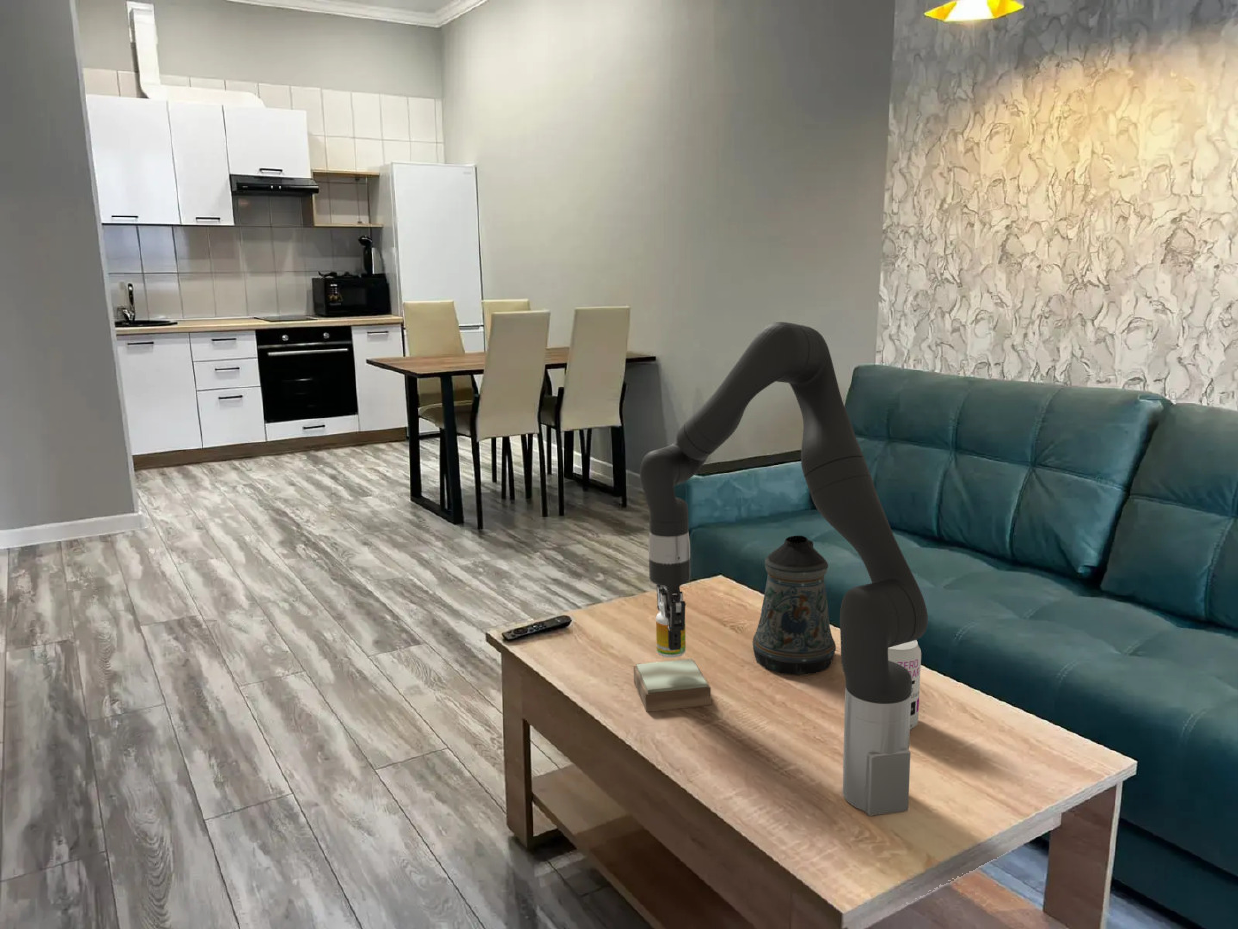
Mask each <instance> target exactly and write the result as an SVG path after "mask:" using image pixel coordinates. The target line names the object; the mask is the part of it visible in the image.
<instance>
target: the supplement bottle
mask: <svg viewBox="0 0 1238 929" xmlns="http://www.w3.org/2000/svg"><path fill="white" fill-rule="evenodd" d="M659 609H660V610H659V612H658V613H657V615H656V616H655V629H656V631H655V632H656V636H655V637H656V638H655V639H656V642H655V643H656V653H657V654H658V655H659V656H661V657H664V658H668V659H669V658H671V659H672V658H679V657H681V656H683V655H684V654H686V648H687V646H686V644H687V643H686V627H685V628H684V631H681V648H680V649H678V650H670V649H669V647H668V629H667V627H668V625H667V619H666V618H665V617H664V612H663V603H662V602H660V604H659ZM667 611H668V610H667ZM668 613H670V611H668ZM674 624H678V621H674Z"/></svg>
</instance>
